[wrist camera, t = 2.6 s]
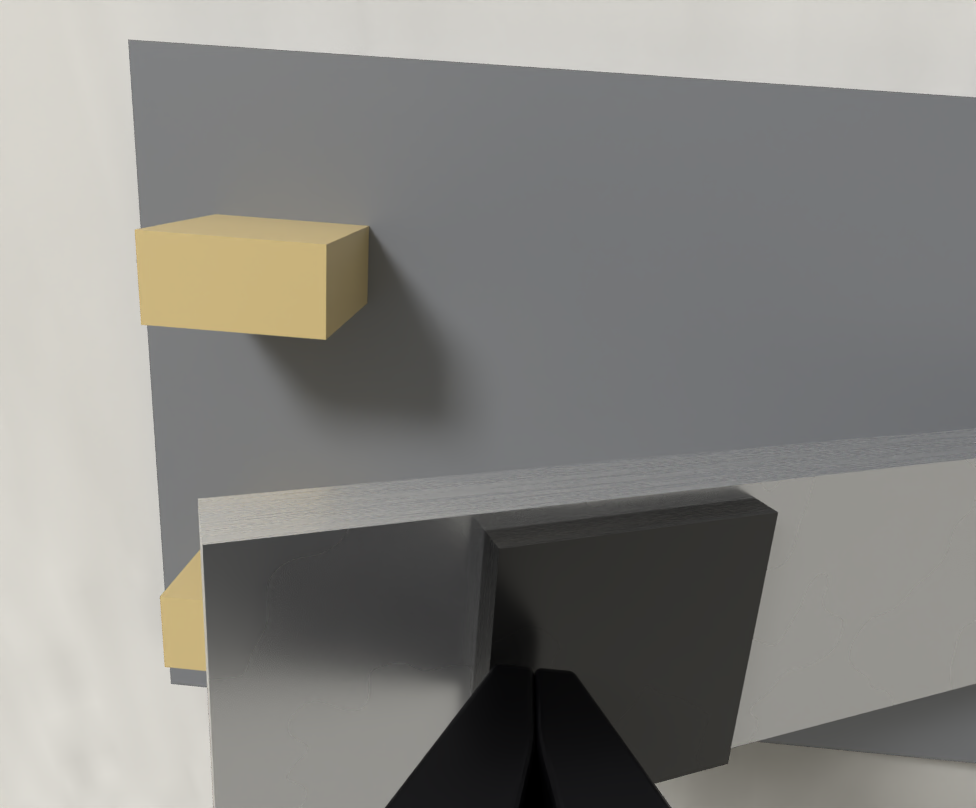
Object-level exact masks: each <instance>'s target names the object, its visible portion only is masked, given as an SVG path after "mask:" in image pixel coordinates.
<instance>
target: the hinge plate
mask: <svg viewBox="0 0 976 808" xmlns="http://www.w3.org/2000/svg"><path fill="white" fill-rule="evenodd" d="M128 44H129V59H130V74H131V89H132V104H133V119H134V134H135V149H136V164H137V179H138V194H139V209H140V224H141V229H136V230H135V241H136V255H137V270H138V284H139V299H140V313H141V325H147V329H148V344H149V359H150V374H151V389H152V404H153V419H154V434H155V450H156V465H157V480H158V495H159V510H160V525H161V540H162V555H163V570H164V585H165V591H164V592H163V594H162V595H161V596H160V604H161V618H162V633H163V647H164V662H165V667H170V675H171V684H178V685H188V686H198V687H207V675H206V655H205V635H204V614H203V594H202V574H201V554H200V534H199V514H198V499H199V498H210V497H221V496H232V495H243V494H254V493H265V492H276V491H287V490H298V489H309V488H320V487H331V486H342V485H353V484H364V483H374V482H385V481H396V480H407V479H418V478H429V477H440V476H451V475H462V474H473V473H484V472H495V471H506V470H517V469H528V468H539V467H550V466H561V465H572V464H583V463H594V462H604V461H615V460H626V459H637V458H648V457H659V456H670V455H681V454H692V453H703V452H714V451H725V450H736V449H747V448H758V447H769V446H780V445H791V444H802V443H813V442H824V441H834V440H845V439H856V438H867V437H878V436H889V435H900V434H911V433H922V432H933V431H944V430H955V429H966V428H976V98H975V97H961V96H946V95H931V94H917V93H902V92H887V91H873V90H858V89H843V88H829V87H814V86H799V85H785V84H770V83H756V82H741V81H726V80H712V79H697V78H682V77H668V76H653V75H638V74H624V73H609V72H594V71H580V70H565V69H551V68H536V67H521V66H507V65H492V64H477V63H463V62H448V61H433V60H419V59H404V58H389V57H375V56H360V55H346V54H331V53H316V52H302V51H287V50H272V49H258V48H243V47H228V46H214V45H199V44H185V43H170V42H155V41H141V40H128ZM756 742H766V743H776V744H786V745H796V746H807V747H817V748H827V749H837V750H847V751H857V752H867V753H877V754H888V755H898V756H908V757H918V758H928V759H938V760H948V761H959V762H969V763H976V684H972V685H969V686H965V687H961V688H957V689H953V690H950V691H946V692H942V693H938V694H934V695H931V696H927V697H923V698H919V699H915V700H912V701H908V702H904V703H900V704H896V705H893V706H889V707H885V708H881V709H877V710H874V711H870V712H866V713H862V714H858V715H855V716H851V717H847V718H843V719H839V720H836V721H832V722H828V723H824V724H820V725H817V726H813V727H809V728H805V729H801V730H798V731H794V732H790V733H786V734H782V735H779V736H775V737H771V738H767V739H763V740H760V741H756Z"/></svg>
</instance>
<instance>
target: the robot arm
mask: <svg viewBox="0 0 976 808" xmlns="http://www.w3.org/2000/svg"><path fill="white" fill-rule="evenodd" d="M385 808H671V807H670V805H669V804H668V802H667V801H666V800H665V798H664V797H663V795H662V794H661V793H660V791H659V790H658V788H657V787H656V786H655V784H654V783H653V781H652V780H651V779H650V777H649V776H648V774H647V773H646V772H645V770H644V769H643V767H642V766H641V765H640V763H639V762H638V760H637V759H636V758H635V756H634V755H633V753H632V752H631V751H630V749H629V748H628V746H627V745H626V744H625V742H624V741H623V739H622V738H621V737H620V735H619V734H618V732H617V731H616V730H615V728H614V727H613V725H612V724H611V723H610V721H609V720H608V718H607V717H606V716H605V714H604V713H603V711H602V710H601V709H600V707H599V706H598V704H597V703H596V702H595V700H594V699H593V697H592V696H591V695H590V693H589V692H588V690H587V689H586V688H585V686H584V685H583V683H582V682H581V681H580V679H579V678H578V676H577V675H576V674H575V673H573V672H572V671H568V670H558V669H547V668H539V669H537V670H536V671H535V674H534V672H533V670H532V669H531V668H530V667H526V666H516V665H506V664H497V665H495V666H494V667H493V668H492V669H491V670H490V672H489V673H488V674H487V675H486V677H485V678H484V679H483V681H482V682H481V683H480V685H479V686H478V687H477V688H476V690H475V691H474V692H473V694H472V695H471V696H470V698H469V699H468V700H467V701H466V703H465V704H464V705H463V707H462V708H461V709H460V711H459V712H458V713H457V714H456V716H455V717H454V718H453V720H452V721H451V722H450V724H449V725H448V726H447V727H446V729H445V730H444V731H443V733H442V734H441V735H440V736H439V738H438V739H437V740H436V742H435V743H434V744H433V746H432V747H431V748H430V749H429V751H428V752H427V753H426V755H425V756H424V757H423V759H422V760H421V761H420V762H419V764H418V765H417V766H416V768H415V769H414V770H413V772H412V773H411V774H410V775H409V777H408V778H407V779H406V781H405V782H404V783H403V785H402V786H401V787H400V788H399V790H398V791H397V792H396V794H395V795H394V796H393V798H392V799H391V800H390V801H389V803H388V804H387V805H386V807H385Z"/></svg>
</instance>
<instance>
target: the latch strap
mask: <svg viewBox="0 0 976 808" xmlns="http://www.w3.org/2000/svg"><path fill="white" fill-rule="evenodd" d="M198 514H199V534H200V554H201V574H202V594H203V614H204V635H205V655H206V675H207V695H208V715H209V735H210V755H211V775H212V795H213V808H385V807H386V805H387V804H388V803H389V801H390V800H391V799H392V798H393V796H394V795H395V794H396V792H397V791H398V790H399V788H400V787H401V786H402V785H403V783H404V782H405V781H406V779H407V778H408V777H409V775H410V774H411V773H412V772H413V770H414V769H415V768H416V766H417V765H418V764H419V762H420V761H421V760H422V759H423V757H424V756H425V755H426V753H427V752H428V751H429V749H430V748H431V747H432V746H433V744H434V743H435V742H436V740H437V739H438V738H439V736H440V735H441V734H442V733H443V731H444V730H445V729H446V727H447V726H448V725H449V724H450V722H451V721H452V720H453V718H454V717H455V716H456V714H457V713H458V712H459V711H460V709H461V708H462V707H463V705H464V704H465V703H466V701H467V700H468V699H469V698H470V696H471V695H472V694H473V692H474V691H475V690H476V688H477V687H478V686H479V685H480V683H481V682H482V681H483V679H484V678H485V677H486V675H487V674H488V673H489V672H490V670H491V669H492V668H493V667H494V666H495V665H497V664H506V665H516V666H526V667H530V668H531V669H532V670H533V672H534V674H535V671H536V670H537V669H539V668H547V669H558V670H568V671H572V672H573V673H575V674H576V675H577V676H578V678H579V679H580V681H581V682H582V683H583V685H584V686H585V688H586V689H587V690H588V692H589V693H590V695H591V696H592V697H593V699H594V700H595V702H596V703H597V704H598V706H599V707H600V709H601V710H602V711H603V713H604V714H605V716H606V717H607V718H608V720H609V721H610V723H611V724H612V725H613V727H614V728H615V730H616V731H617V732H618V734H619V735H620V737H621V738H622V739H623V741H624V742H625V744H626V745H627V746H628V748H629V749H630V751H631V752H632V753H633V755H634V756H635V758H636V759H637V760H638V762H639V763H640V765H641V766H642V767H643V769H644V770H645V772H646V773H647V774H648V776H649V777H650V779H651V780H652V781H653V783H658V782H662V781H666V780H669V779H673V778H677V777H680V776H684V775H688V774H691V773H695V772H699V771H702V770H706V769H710V768H713V767H717V766H721V765H724V764H728V760H729V755H730V750H731V748H733V747H737V746H741V745H744V744H748V743H752V742H756V741H760V740H763V739H767V738H771V737H775V736H779V735H782V734H786V733H790V732H794V731H798V730H801V729H805V728H809V727H813V726H817V725H820V724H824V723H828V722H832V721H836V720H839V719H843V718H847V717H851V716H855V715H858V714H862V713H866V712H870V711H874V710H877V709H881V708H885V707H889V706H893V705H896V704H900V703H904V702H908V701H912V700H915V699H919V698H923V697H927V696H931V695H934V694H938V693H942V692H946V691H950V690H953V689H957V688H961V687H965V686H969V685H972V684H976V428H966V429H955V430H944V431H933V432H922V433H911V434H900V435H889V436H878V437H867V438H856V439H845V440H834V441H824V442H813V443H802V444H791V445H780V446H769V447H758V448H747V449H736V450H725V451H714V452H703V453H692V454H681V455H670V456H659V457H648V458H637V459H626V460H615V461H604V462H594V463H583V464H572V465H561V466H550V467H539V468H528V469H517V470H506V471H495V472H484V473H473V474H462V475H451V476H440V477H429V478H418V479H407V480H396V481H385V482H374V483H364V484H353V485H342V486H331V487H320V488H309V489H298V490H287V491H276V492H265V493H254V494H243V495H232V496H221V497H210V498H199V499H198Z"/></svg>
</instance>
